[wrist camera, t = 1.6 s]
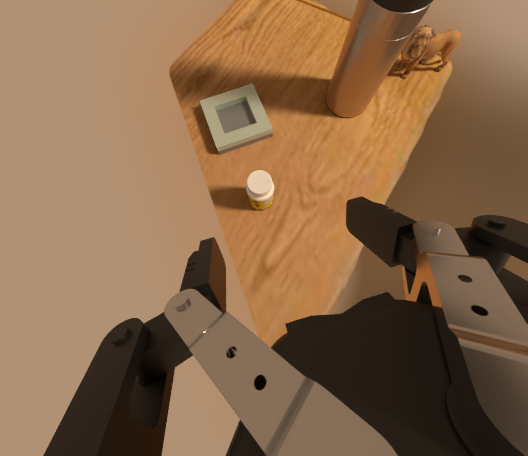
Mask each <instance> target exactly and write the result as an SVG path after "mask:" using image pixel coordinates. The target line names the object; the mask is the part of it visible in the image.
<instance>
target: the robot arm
mask: <svg viewBox="0 0 528 456" xmlns="http://www.w3.org/2000/svg"><path fill="white" fill-rule="evenodd" d="M432 2H433V0H358V3H357V6H356V9H355V12H354V15H353V18H352V21H351V24H350V27H349V30H348V33H347V36H346V39H345V41H344V44H343V47H342V50H341V53H340V56H339V59H338V62H337V65H336V68H335V71H334V73H333V76H332V79H331V82H330V85H329V88H328V91H327V94H326V104H327V106H328V108H329V109H330V110H331V111H332V112H333V113H335V114H336V115H338V116H341V117H355V116H357V115H359V114H361V113H362V112H363V111H364V110H365V109H366V107H367V106H368V104H369V102H370V101H371V99H372V98H373V96H374V94H375V93H376V91H377V90H378V88H379V87H380V85H381V83H382V82H383V80H384V79H385V77H386V75H387V74H388V72H389V71H390V69H391V68H392V66H393V64H394V63H395V61H396V60H397V58H398V56H399V55H400V53H401V52H402V50H403V48H404V47H405V45H406V44H407V42H408V40H409V39H410V37H411V36H412V34H413V32H414V31H415V29H416V27H417V26H418V24H419V23H420V21H421V19H422V18H423V16H424V15H425V13H426V11H427V10H428V8H429V7H430V5H431V4H432ZM346 225H347V229H348V230H349V232H350V233H351V234H352V235H353V236H355V237H356V238H357V239H358V240H359V241H360V242H362V243H363V244H364V245H365V246H366V247H367V248H369V249H370V250H371V251H372V252H373V253H374V254H376V255H377V256H378V257H379V258H380V259H382V260H383V261H384V262H385V263H386V264H388V265H389V266H390V267H394V266H397V265H400V264H402V265H403V271H402V272H403V280H404V286H405V295H406V300H395V299H394V298H393V297H392V296H391V295H390V294H389V293H388V292H386V293H383V294H380V295H377V296H373V297H370V298H367V299H363V300H362V301H360V302H359V303H357V304H356V305H354V306H353V307H351V308H350V309H348V310H347V311H346V312H344V313H342V314H334V315H317V316H309V317H306V318H303V319H299V320H296V321H293V322H290V323H286V324H285V325H286V328H287V333H286V334H284V335H283V336H282V337H280V338H279V339H278V340H277V341H276V342H275V343H274V344H273V346H272V347H271V348H270V347H269V346H268V345H267V344H265V343H264V342H263V341H262V340H261V339H260V338H258V337H257V336H256V335H255V334H254V333H252V332H251V331H250V330H249V329H248V328H246V327H245V326H244V325H243V324H242V323H241V322H239V321H238V320H237V319H236V318H235V317H233V316H232V315H231V314H230V313H228V312H226V267H225V262H224V258H223V256H222V254H221V251H220V249H219V246H218V244H217V242H216V240H215V238H214V237H213V238H209V239H206V240H202V241H201V242H200V246H199V251H195V252H193V253H192V255H191V256H190V257H189V259H188V263H187V267H186V270H185V273H184V277H183V281H182V285H181V289H180V292H179V293H178V294H176V295H175V296H173V297H172V298H171V299H170V301H169V302H168V303H167V305H166V307H165V310H164V312H163V313H162V314H160V315H159V316H157V317H155V318H153V319H151V320H149V321H148V322H146V323H143V322H142V321H141V320H140V319H138V318H131V319H128V320H126V321H124V322H122V323H120V324H119V325H117V326H116V327H115V328H113V329H112V330H111V331H110V332H109V333H108V334H107V336H106V337H105V338H104V339H103V341H102V343H101V345H100V346H99V348H98V350H97V352H96V354H95V356H94V358H93V360H92V362H91V364H90V366H89V368H88V370H87V372H86V374H85V376H84V378H83V380H82V382H81V383H80V385H79V387H78V389H77V391H76V393H75V395H74V397H73V399H72V401H71V403H70V405H69V407H68V409H67V411H66V413H65V415H64V417H63V419H62V421H61V422H60V425H59V426H58V428H57V430H56V432H55V434H54V436H53V438H52V440H51V442H50V444H49V446H48V448H47V450H46V452H45V454H44V456H161V455H162V448H163V442H164V435H165V429H166V422H167V416H168V409H169V403H170V396H171V390H172V383H173V376H174V370H175V367H176V366H178V365H179V364H180V363H182V362H184V361H185V360H187V359H188V358H190V357H191V356H193V355H194V357H195V358H196V359H197V360H198V362H199V363H200V365H201V366H202V368H203V369H204V370H205V372H206V373H207V375H208V376H209V377H210V379H211V380H212V381H213V382H214V384H215V385H216V387H217V388H218V389H219V391H220V392H221V394H222V395H223V396H224V398H225V399H226V400H227V402H228V403H229V405H230V406H231V407H232V409H233V410H234V411H235V413H236V414H237V415H238V417H239V418H240V421H239V423H238V426H237V428H236V431H235V434H234V436H233V439H232V441H231V444H230V446H229V449H228V451H227V454H226V456H528V325H527V324H528V281H527V280H524V279H523V278H521V277H519V276H517V275H516V274H514V273H512V272H510V271H508V270H506V269H505V268H503V267H504V266H505V264H506V262H507V261H508V259H509V258H510V256H511V255H512V256H514V257H516V258H518V259H520V260H522V261H524V262H527V263H528V224H526V223H523V222H520V221H517V220H515V219H512V218H508V217H503V216H495V215H483V216H478V217H475V218H474V219H473V222H472V224H471V226H470V227H468V228H453V227H452V226H450V225H448V224H446V223H442V222H439V221H431V220H427V221H419V222H416V221H414V220H412V219H411V218H409V217H407V216H404V215H403V214H401V213H399V212H396V211H395V210H393V209H390V208H389V207H386V206H385V205H383V204H379V203H375V202H372V201H370V200H368V199H366V198H364V197H357V198H354V199H350V200H348V201H347V206H346Z"/></svg>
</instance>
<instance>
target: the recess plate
mask: <svg viewBox="0 0 528 456" xmlns="http://www.w3.org/2000/svg"><path fill="white" fill-rule="evenodd" d="M200 103H201V106H202V109H203V112H204V114H205V117H206V120H207V123H208V126H209V128H210V131H211V134H212V137H213V139H214V142H215V145H216V148H217V150H218V152H219V154H222V153H225V152H228V151H231V150H234V149H237V148H240V147H243V146H245V145H248V144H251V143H254V142H257V141H260V140H263V139H266V138H269V137H272V136H273V128H272V126H271V124H270V121H269V119H268V117H267V115H266V112H265V110H264V108H263V105H262V103H261V101H260V99H259V96H258V94H257V92H256V89H255V87H254V85H253V83H252V84H249V85H246V86H243V87H240V88H237V89H234V90H230V91H227V92H224V93H221V94H218V95H215V96H212V97H209V98H206V99H203V100H200Z"/></svg>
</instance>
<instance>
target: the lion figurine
mask: <svg viewBox="0 0 528 456" xmlns="http://www.w3.org/2000/svg"><path fill="white" fill-rule="evenodd" d="M460 39H461V34H460V32H458V31H455V30H448V31H446V32H443V33H440V34H434V30H433V29H431V28H430V26H426V25H425V26H421V27H418V28H416V29H415V31H414V32H413V34H412V36H411V37H410V39H409V40H408V42H407V44H406V45H405V47H404V48H403V50H402V52H401V58H402V61H401V63H400V64H398V65H396V67H395V69H396V70H400V69H401V68H402V67H403V65H404V64H405V63H410V62H411V64H410V66H409V67H408V69H407V70H406V71H405V72H404V73H403V74H402V78H404V79H406V78H407V76H408V75H409V74H410V72H411V70H412V69H413V68H414V67H415V66H416V65H417V64H418V62H419V61H420V62H421V63H422V64H424V63H426V62H428V61H429V60H431V59H432V58H434V57H435V56H436V54H437V53H438V52H439V51H440V52H441V59H442V62H443V64H442V65H440V66H438V67H437V68H436V70H437V71H438V72H439V71H441V70H442V69H443V68H444V67H445V65H446V64H447V63H448V62H449V60H450V55H451V53H452V52H453V51H454V49H455V48H456V46H457V45H458V43H459V41H460ZM426 57H427V58H426ZM421 58H423V59H421Z"/></svg>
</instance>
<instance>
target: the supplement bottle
mask: <svg viewBox="0 0 528 456" xmlns="http://www.w3.org/2000/svg"><path fill="white" fill-rule="evenodd" d="M246 191H247V195H248V198H249V202H250V204H251V206H252V207H253V208H255V209H256V210H261V211H262V210H266V209H268V208H269V207H270V206H271V205H272V202H273V195H274V184H273V182H272V178H271V176H270V175H269V174H268V173H267V172H265V171H262V170H257V171H254V172H252V173H251V174H250V175H249V176H248V179H247V185H246Z"/></svg>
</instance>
